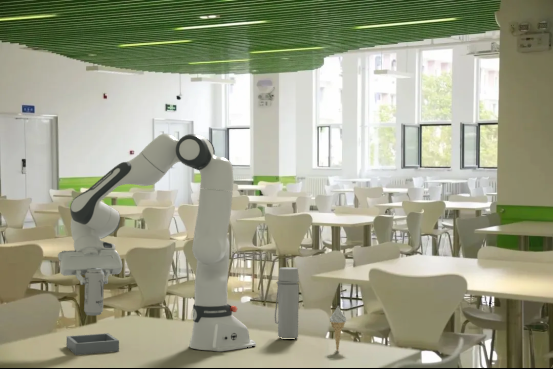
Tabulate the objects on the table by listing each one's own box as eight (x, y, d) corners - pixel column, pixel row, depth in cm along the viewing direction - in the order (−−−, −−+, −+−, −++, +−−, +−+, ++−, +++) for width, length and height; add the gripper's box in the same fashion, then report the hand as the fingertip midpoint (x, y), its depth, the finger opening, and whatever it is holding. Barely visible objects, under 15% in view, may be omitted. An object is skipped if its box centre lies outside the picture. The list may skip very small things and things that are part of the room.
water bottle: (302, 337, 286) (303, 267, 286) (291, 341, 279) (291, 269, 279) (280, 335, 290) (281, 266, 291) (269, 338, 284) (269, 268, 284)
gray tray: (108, 343, 272) (108, 333, 272) (118, 351, 260) (118, 340, 260) (66, 346, 266) (66, 336, 266) (75, 354, 254) (75, 343, 254)
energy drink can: (100, 316, 259) (101, 269, 258) (81, 315, 259) (83, 269, 259) (104, 312, 265) (106, 267, 265) (86, 312, 265) (88, 267, 265)
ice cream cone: (336, 348, 268) (337, 303, 268) (349, 350, 264) (349, 305, 264) (325, 350, 264) (326, 305, 264) (338, 353, 260) (338, 307, 260)
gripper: (58, 244, 263) (64, 278, 254) (119, 244, 272) (126, 276, 264) (55, 257, 267) (60, 290, 258) (115, 256, 276) (122, 288, 268)
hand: (94, 283), depth 261 cm, fingers closed on energy drink can, 6 cm apart
